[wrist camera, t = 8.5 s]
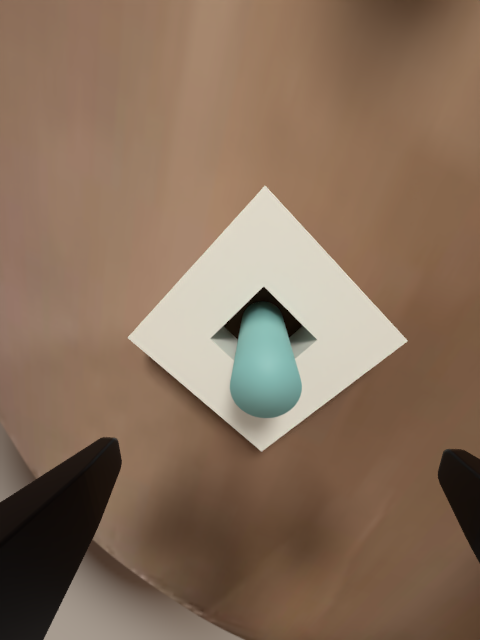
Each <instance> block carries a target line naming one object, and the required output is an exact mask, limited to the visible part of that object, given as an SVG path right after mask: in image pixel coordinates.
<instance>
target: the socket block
mask: <svg viewBox="0 0 480 640" xmlns="http://www.w3.org/2000/svg"><path fill="white" fill-rule="evenodd" d="M263 287H265V288H266V289H267V290H268V291H269V292H270V293H271V294H272V295H273V296H274V297H275V298H276V299H277V300H278V301H279V302H280V303H281V304H282V305H283V306H284V307H285V308H286V309H287V310H288V311H289V312H290V313H291V314H292V315H293V316H294V317H295V318H296V319H297V320H298V321H299V322H300V323H301V324H302V325H303V326H302V327H301V328H300V329H299V330H297V331H296V332H295V333H294V334H293V335H292V336H291V337H289V340H290V344H291V347H292V351H293V354H294V358H295V361H296V365H297V368H298V371H299V375H300V378H301V383H302V391H301V396H300V398H299V400H298V402H297V404H296V405H295V406H294V407H293V408H292V409H291V410H290V411H288V412H287V413H285V414H283V415H281V416H278V417H274V418H259V417H254V416H251V415H249V414H247V413H245V412H244V411H243V410H241V409H240V408H239V407H238V406H237V405H236V403H235V402H234V400H233V398H232V396H231V392H230V380H231V375H232V370H233V364H234V359H235V353H236V348H237V342H238V339H237V338H236V337H235V336H234V335H232V334H231V333H230V332H229V331H228V330H227V329H226V328H225V327H224V325H225V324H226V323H227V322H228V321H229V320H230V319H231V318H232V317H233V316H234V315H235V314H236V313H237V312H238V311H239V310H240V309H241V308H242V307H243V306H244V305H245V304H246V303H247V302H248V301H249V300H250V299H251V298H252V297H253V296H254V295H255V294H256V293H257V292H258V291H260V290H261V289H262V288H263ZM128 339H130V340H131V341H132V342H133V343H134V344H136V345H137V346H138V347H139V348H140V349H141V350H143V351H144V352H145V353H146V354H147V355H148V356H150V357H151V358H152V359H153V360H154V361H156V362H157V363H158V364H159V365H160V366H161V367H163V368H164V369H165V370H166V371H167V372H168V373H170V374H171V375H172V376H173V377H174V378H176V379H177V380H178V381H179V382H180V383H181V384H183V385H184V386H185V387H186V388H187V389H188V390H190V391H191V392H192V393H193V394H194V395H196V396H197V397H198V398H199V399H200V400H201V401H203V402H204V403H205V404H206V405H207V406H208V407H210V408H211V409H212V410H213V411H214V412H216V413H217V414H218V415H219V416H220V417H221V418H223V419H224V420H225V421H226V422H227V423H228V424H230V425H231V426H232V427H233V428H234V429H236V430H237V431H238V432H239V433H240V434H241V435H243V436H244V437H245V438H246V439H247V440H248V441H250V442H251V443H252V444H253V445H254V446H256V447H257V448H258V449H259V450H260V451H261V452H262V451H263V450H264V449H266V448H267V447H268V446H270V445H271V444H272V443H274V442H275V441H276V440H278V439H279V438H280V437H281V436H283V435H284V434H285V433H287V432H288V431H289V430H291V429H292V428H293V427H295V426H296V425H297V424H299V423H300V422H301V421H303V420H304V419H305V418H307V417H308V416H309V415H311V414H312V413H313V412H315V411H316V410H317V409H318V408H320V407H321V406H322V405H324V404H325V403H326V402H328V401H329V400H330V399H332V398H333V397H334V396H336V395H337V394H338V393H340V392H341V391H342V390H344V389H345V388H346V387H348V386H349V385H350V384H352V383H353V382H354V381H356V380H357V379H358V378H359V377H361V376H362V375H363V374H365V373H366V372H367V371H369V370H370V369H371V368H373V367H374V366H375V365H377V364H378V363H379V362H381V361H382V360H383V359H385V358H386V357H387V356H389V355H390V354H391V353H393V352H394V351H395V350H397V349H398V348H399V347H400V346H402V345H403V344H404V343H406V342H407V340H406V338H405V337H404V336H403V335H402V334H401V333H400V332H399V331H398V330H397V329H396V328H395V326H394V325H393V324H392V323H391V322H390V321H389V320H388V319H387V318H386V317H385V316H384V314H383V313H382V312H381V311H380V310H379V309H378V308H377V307H376V306H375V305H374V304H373V303H372V301H371V300H370V299H369V298H368V297H367V296H366V295H365V294H364V293H363V292H362V291H361V289H360V288H359V287H358V286H357V285H356V284H355V283H354V282H353V281H352V280H351V279H350V277H349V276H348V275H347V274H346V273H345V272H344V271H343V270H342V269H341V268H340V267H339V265H338V264H337V263H336V262H335V261H334V260H333V259H332V258H331V257H330V256H329V255H328V253H327V252H326V251H325V250H324V249H323V248H322V247H321V246H320V245H319V244H318V243H317V241H316V240H315V239H314V238H313V237H312V236H311V235H310V234H309V233H308V232H307V231H306V230H305V228H304V227H303V226H302V225H301V224H300V223H299V222H298V221H297V220H296V219H295V218H294V216H293V215H292V214H291V213H290V212H289V211H288V210H287V209H286V208H285V207H284V206H283V204H282V203H281V202H280V201H279V200H278V199H277V198H276V197H275V196H274V195H273V194H272V192H271V191H270V190H269V189H268V188H267V187H266V186H264V187H263V188H262V190H261V191H260V192H259V193H258V194H257V195H256V196H255V197H254V198H253V199H252V201H251V202H250V203H249V204H248V205H247V206H246V207H245V208H244V209H243V211H242V212H241V213H240V214H239V215H238V216H237V217H236V218H235V219H234V221H233V222H232V223H231V224H230V225H229V226H228V227H227V228H226V229H225V230H224V232H223V233H222V234H221V235H220V236H219V237H218V238H217V239H216V240H215V242H214V243H213V244H212V245H211V246H210V247H209V248H208V249H207V250H206V251H205V253H204V254H203V255H202V256H201V257H200V258H199V259H198V260H197V261H196V263H195V264H194V265H193V266H192V267H191V268H190V269H189V270H188V271H187V273H186V274H185V275H184V276H183V277H182V278H181V279H180V280H179V281H178V282H177V284H176V285H175V286H174V287H173V288H172V289H171V290H170V291H169V292H168V294H167V295H166V296H165V297H164V298H163V299H162V300H161V301H160V302H159V303H158V305H157V306H156V307H155V308H154V309H153V310H152V311H151V312H150V313H149V315H148V316H147V317H146V318H145V319H144V320H143V321H142V322H141V323H140V324H139V326H138V327H137V328H136V329H135V330H134V331H133V332H132V333H131V334H130V336H129V337H128Z"/></svg>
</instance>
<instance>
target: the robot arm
mask: <svg viewBox="0 0 480 640" xmlns="http://www.w3.org/2000/svg"><path fill="white" fill-rule="evenodd" d="M121 464H122V460H121V454H120V448H119V443H118V440H117V439H116V438H111V437H103V438H100V439H98V440H97V441H95V442H94V443H92V444H91V445H89V446H88V447H86V448H84V449H83V450H81V451H80V452H78V453H77V454H75V455H74V456H72V457H70V458H69V459H67V460H66V461H64V462H63V463H61V464H59V465H58V466H56V467H55V468H53V469H52V470H50V471H49V472H47V473H45V474H44V475H42V476H41V477H39V478H38V479H36V480H35V481H33V482H32V483H30V484H28V485H27V486H25V487H24V488H22V489H20V490H19V491H17V492H16V493H14V494H13V495H11V496H10V497H8V498H6V499H5V500H3V501H2V502H0V640H43V639H44V637H45V635H46V633H47V631H48V629H49V627H50V625H51V623H52V621H53V619H54V617H55V615H56V613H57V611H58V609H59V606H60V604H61V602H62V600H63V598H64V596H65V594H66V592H67V590H68V588H69V586H70V584H71V582H72V580H73V578H74V576H75V574H76V572H77V570H78V568H79V565H80V563H81V561H82V559H83V557H84V555H85V553H86V551H87V549H88V547H89V544H90V543H91V541H92V539H93V537H94V535H95V532H96V530H97V528H98V526H99V523H100V521H101V519H102V516H103V513H104V511H105V508H106V506H107V503H108V500H109V498H110V495H111V492H112V490H113V487H114V485H115V482H116V479H117V477H118V474H119V472H120V469H121ZM438 479H439V482H440V485H441V487H442V489H443V491H444V493H445V495H446V497H447V499H448V501H449V503H450V505H451V508H452V510H453V512H454V514H455V516H456V518H457V520H458V522H459V524H460V526H461V528H462V530H463V532H464V535H465V537H466V539H467V540H468V542H469V544H470V546H471V548H472V550H473V552H474V554H475V555H476V557H477V559H478V561H479V563H480V459H478V458H477V457H475V456H473V455H472V454H470V453H468V452H466V451H464V450H461V449H446V450H445V451H444V452H443V455H442V458H441V462H440V466H439V470H438Z"/></svg>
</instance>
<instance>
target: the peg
mask: <svg viewBox="0 0 480 640" xmlns="http://www.w3.org/2000/svg"><path fill="white" fill-rule="evenodd" d="M301 391H302V383H301V378H300V375H299V371H298V368H297V365H296V361H295V358H294V354H293V351H292V347H291V344H290V340H289V337H288V333H287V330H286V327H285V323H284V320H283V316H282V313H281V311H280V310H279V308H278V307H277V306H275V305H274V304H272V303H270V302H266V301H259V302H255V303H253V304H251V305H250V306H248V307H247V308H246V310H245V311H244V313H243V316H242V321H241V326H240V332H239V337H238V342H237V348H236V353H235V359H234V364H233V370H232V375H231V380H230V392H231V396H232V398H233V400H234V402H235V403H236V405H237V406H238V407H239V408H240V409H241V410H243V411H244V412H245V413H247V414H249V415H251V416H254V417H259V418H274V417H278V416H281V415H283V414H285V413H287V412H288V411H290V410H291V409H292V408H293V407H294V406H295V405H296V404H297V402H298V400H299V398H300V396H301Z"/></svg>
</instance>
